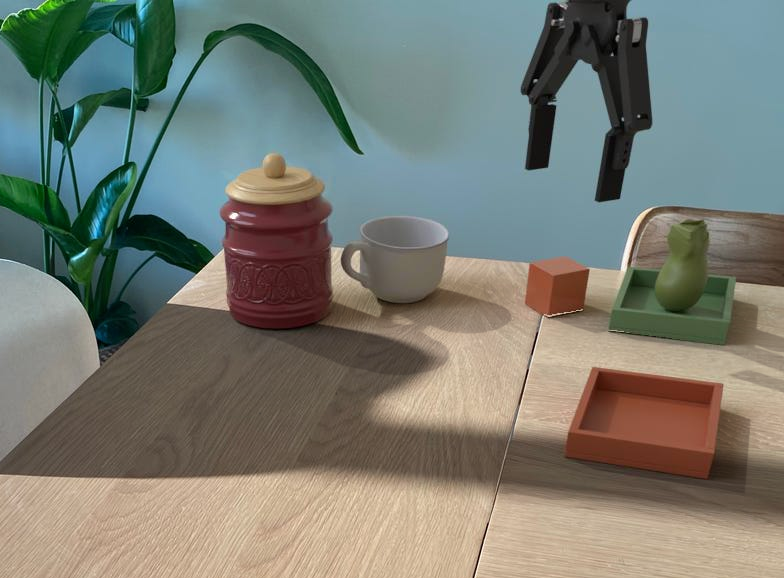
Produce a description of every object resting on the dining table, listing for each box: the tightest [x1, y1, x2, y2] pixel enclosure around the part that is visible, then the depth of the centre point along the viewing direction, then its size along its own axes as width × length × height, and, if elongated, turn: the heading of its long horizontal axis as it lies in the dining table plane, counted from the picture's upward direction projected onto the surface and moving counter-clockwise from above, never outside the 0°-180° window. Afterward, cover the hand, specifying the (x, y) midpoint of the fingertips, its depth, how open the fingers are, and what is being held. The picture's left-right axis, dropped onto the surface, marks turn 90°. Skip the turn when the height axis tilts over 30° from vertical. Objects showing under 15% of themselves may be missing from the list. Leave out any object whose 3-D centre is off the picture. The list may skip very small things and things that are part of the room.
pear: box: [655, 218, 710, 311], centre depth 111 cm, size 6×5×10 cm
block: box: [524, 255, 591, 316], centre depth 116 cm, size 5×5×5 cm
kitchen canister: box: [219, 152, 334, 330], centre depth 113 cm, size 13×13×18 cm
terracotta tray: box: [563, 366, 724, 480], centre depth 93 cm, size 15×13×3 cm
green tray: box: [608, 266, 737, 346], centre depth 114 cm, size 15×13×3 cm
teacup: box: [340, 215, 450, 304], centre depth 119 cm, size 14×11×8 cm
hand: (570, 183), depth 109 cm, fingers open, 13 cm apart
